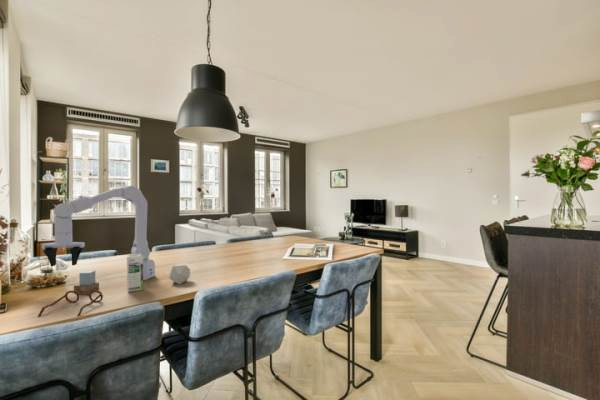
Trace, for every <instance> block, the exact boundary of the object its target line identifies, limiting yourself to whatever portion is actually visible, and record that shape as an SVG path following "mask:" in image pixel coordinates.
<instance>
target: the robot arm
mask: <svg viewBox="0 0 600 400" xmlns="http://www.w3.org/2000/svg"><path fill="white" fill-rule="evenodd" d="M112 198H122V199H124V200H126V201H128V202H130V203H131V204H133V205H134V206H135V211H134V212H135V218H134V221H135V222H134V239H133V243H132V247H131V249H130V253H131V254H130V255H134V254H142V255H143V281H147V280H148V279H152V278H154V277H156V276H157V275H156V273H155V272H156V265H155V260H153V259H151V258H150V255H151V250H150V248H149V242H148V239H147V235H148V234H147V233H148V231H147V230H148V229H147V228H148V200H147V199H146V197H145V196H144V194H143V193H142V190H140V188H138V187H137V186H134V185H126V186H123V187H122V186H121V187H116V188H112V189H110V190H106V191H104V192H101V193H98V194H96V195H94V196H88V195H79V196H78V198H74V199H72V200H69V199H68V200H65V202H64V203H63V202H62V203H59V204H57V205H56V206H55V207H54V209H53V213H54V215H55V216H54V242H46V243H42V244H41V249H42V250H43V249H44V250H43V253H44V255H45V256H46V257H47V260H48V261H49V264H50V267H55V266H56V265H57V253H58V249H66V248H67V249H68V248H69V250H70V251H69V252H70V253H71V254H70V255H71V265H72V266H75V265H78V260H79V257H80V254H82V251H83V250H84V248H85V246H86V244H85V242H82V241H79V242H78V241H73V221H72V216H73V214H78V213H81V212H84V211H87V210H89V209H92V208H93V206H94V205H95V204H97V203H101V202H103V201H107V200H109V199H112Z"/></svg>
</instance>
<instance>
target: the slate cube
mask: <svg viewBox="0 0 600 400" xmlns="http://www.w3.org/2000/svg"><path fill="white" fill-rule="evenodd" d="M95 282H96V270H84V271H81V272H79V284H80V285H91V284H93V283H95Z"/></svg>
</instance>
